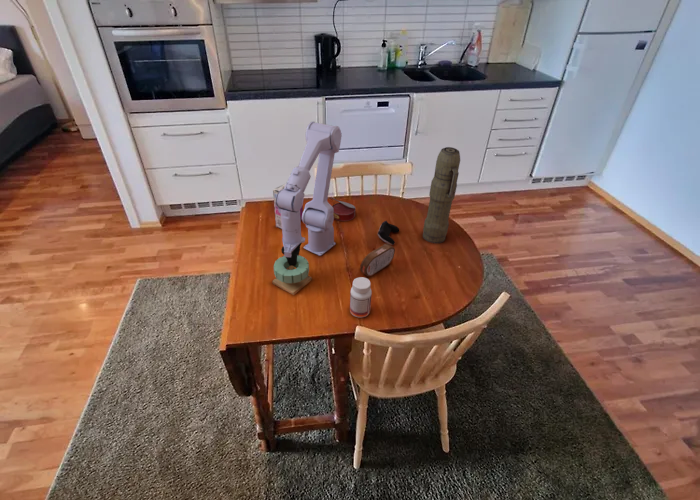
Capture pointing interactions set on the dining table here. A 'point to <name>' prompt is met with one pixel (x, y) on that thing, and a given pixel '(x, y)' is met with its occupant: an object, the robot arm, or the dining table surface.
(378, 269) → the tin
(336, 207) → the canned food
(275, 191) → the candy bar box
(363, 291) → the pill bottle
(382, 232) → the gaming controller
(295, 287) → the peg stand
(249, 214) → the dining table surface
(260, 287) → the dining table surface
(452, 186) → the thermos
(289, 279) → the ring
